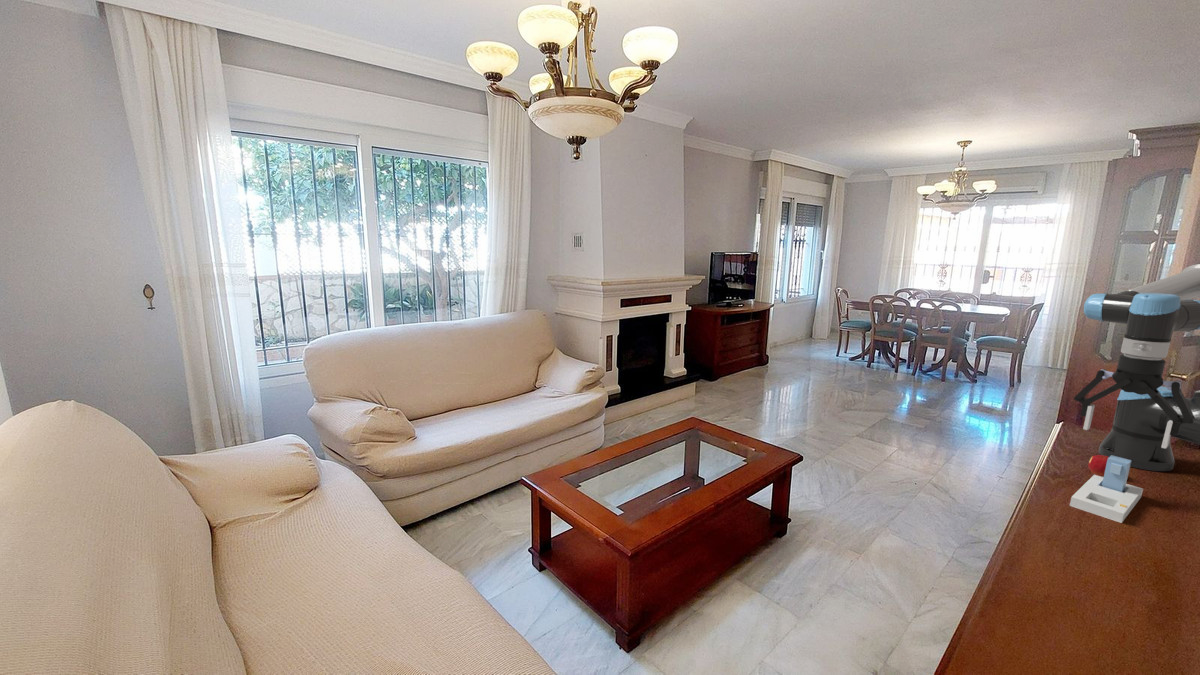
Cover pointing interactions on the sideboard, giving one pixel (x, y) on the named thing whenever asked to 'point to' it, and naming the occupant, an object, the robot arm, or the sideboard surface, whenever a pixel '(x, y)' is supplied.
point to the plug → (1116, 473)
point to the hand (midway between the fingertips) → (1123, 437)
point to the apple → (1098, 464)
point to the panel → (1106, 499)
